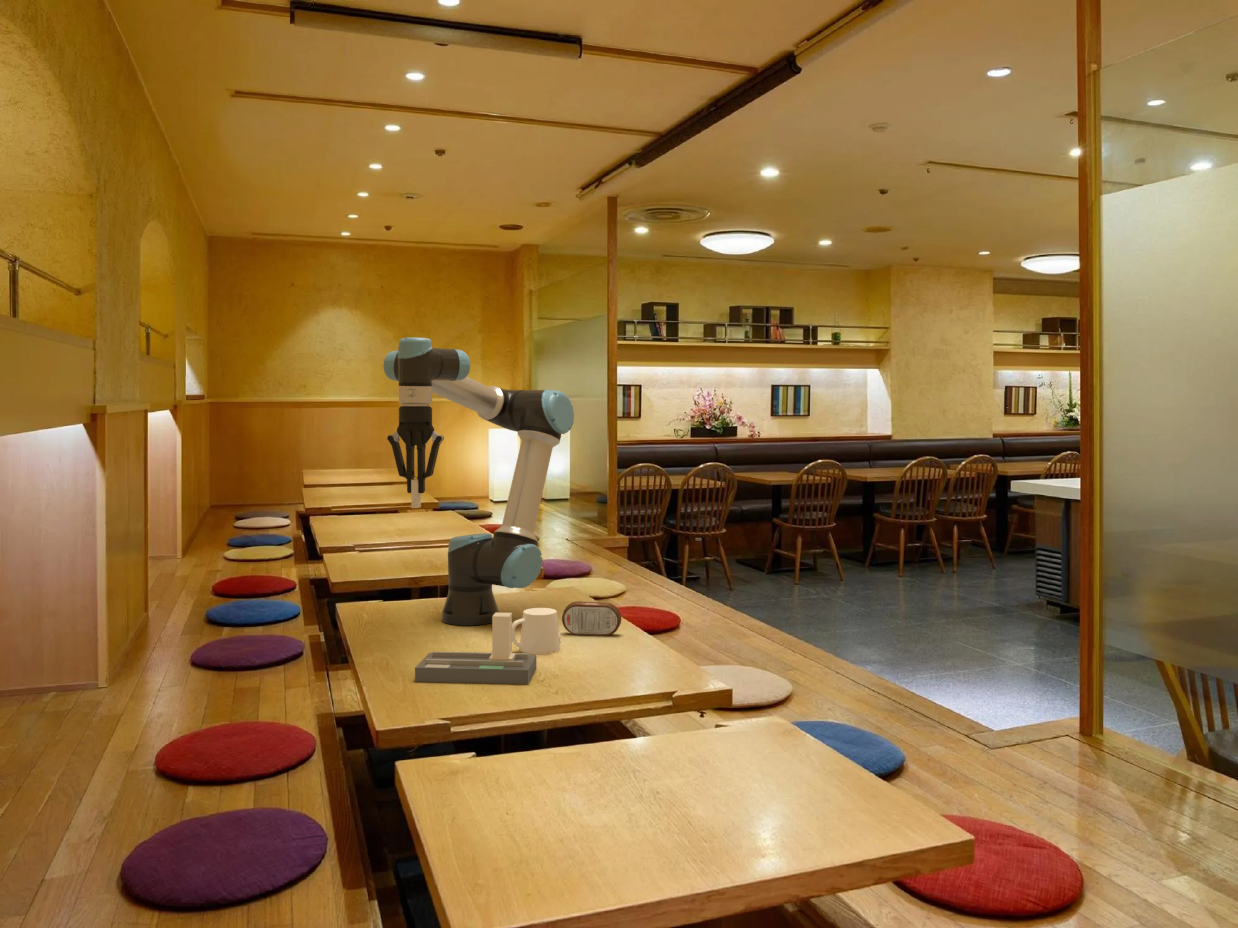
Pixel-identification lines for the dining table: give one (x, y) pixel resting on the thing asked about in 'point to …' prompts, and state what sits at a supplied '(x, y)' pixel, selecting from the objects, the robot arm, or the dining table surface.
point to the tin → (591, 618)
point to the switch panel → (475, 668)
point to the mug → (538, 631)
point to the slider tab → (502, 637)
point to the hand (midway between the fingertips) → (416, 507)
